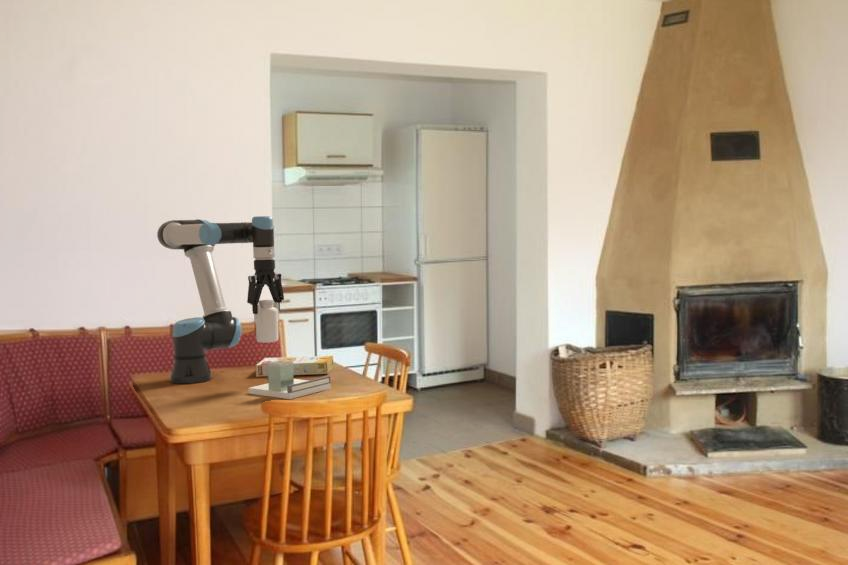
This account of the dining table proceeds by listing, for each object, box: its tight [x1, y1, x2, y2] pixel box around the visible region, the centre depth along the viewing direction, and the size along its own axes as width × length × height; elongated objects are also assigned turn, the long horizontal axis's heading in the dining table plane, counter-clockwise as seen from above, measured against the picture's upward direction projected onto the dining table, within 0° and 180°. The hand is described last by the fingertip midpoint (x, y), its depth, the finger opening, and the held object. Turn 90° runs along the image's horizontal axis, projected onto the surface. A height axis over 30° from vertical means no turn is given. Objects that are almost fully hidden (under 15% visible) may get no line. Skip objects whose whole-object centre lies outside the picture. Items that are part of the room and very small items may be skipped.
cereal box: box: [255, 355, 334, 378], centre depth 328 cm, size 20×6×28 cm
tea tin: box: [267, 360, 295, 391], centre depth 282 cm, size 6×6×9 cm
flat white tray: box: [248, 375, 332, 400], centre depth 288 cm, size 20×20×4 cm
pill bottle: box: [255, 299, 280, 343], centre depth 300 cm, size 8×8×15 cm
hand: (266, 321), depth 300 cm, fingers closed on pill bottle, 8 cm apart
